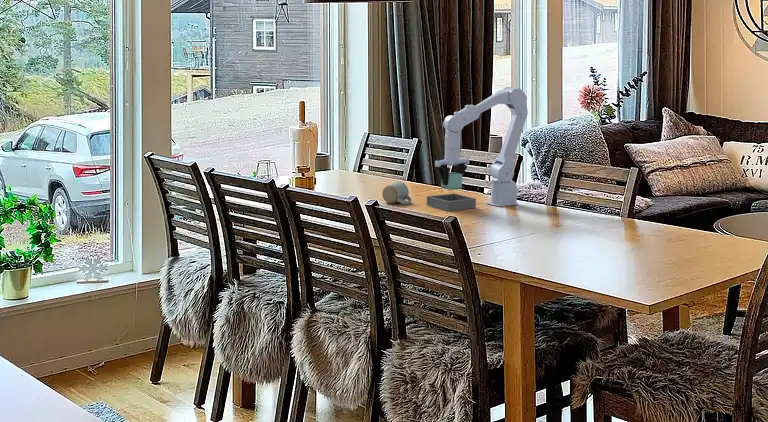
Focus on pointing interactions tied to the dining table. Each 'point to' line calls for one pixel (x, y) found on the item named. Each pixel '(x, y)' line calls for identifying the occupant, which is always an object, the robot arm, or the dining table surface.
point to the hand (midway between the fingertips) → (451, 184)
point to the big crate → (451, 202)
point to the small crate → (453, 181)
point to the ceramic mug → (396, 193)
